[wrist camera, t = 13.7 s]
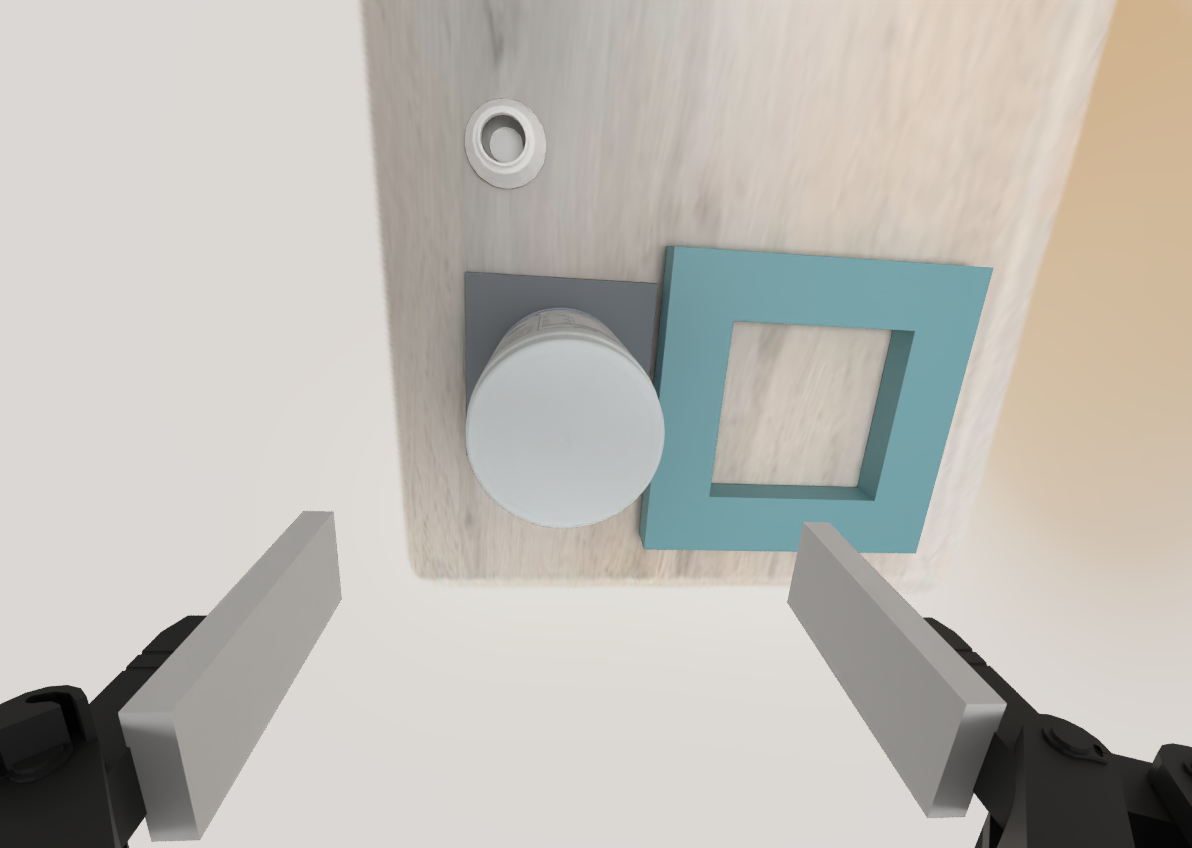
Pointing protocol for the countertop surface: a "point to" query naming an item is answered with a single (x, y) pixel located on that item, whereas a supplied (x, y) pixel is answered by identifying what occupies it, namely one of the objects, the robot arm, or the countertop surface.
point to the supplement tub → (563, 422)
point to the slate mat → (517, 296)
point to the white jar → (506, 145)
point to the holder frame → (824, 298)
